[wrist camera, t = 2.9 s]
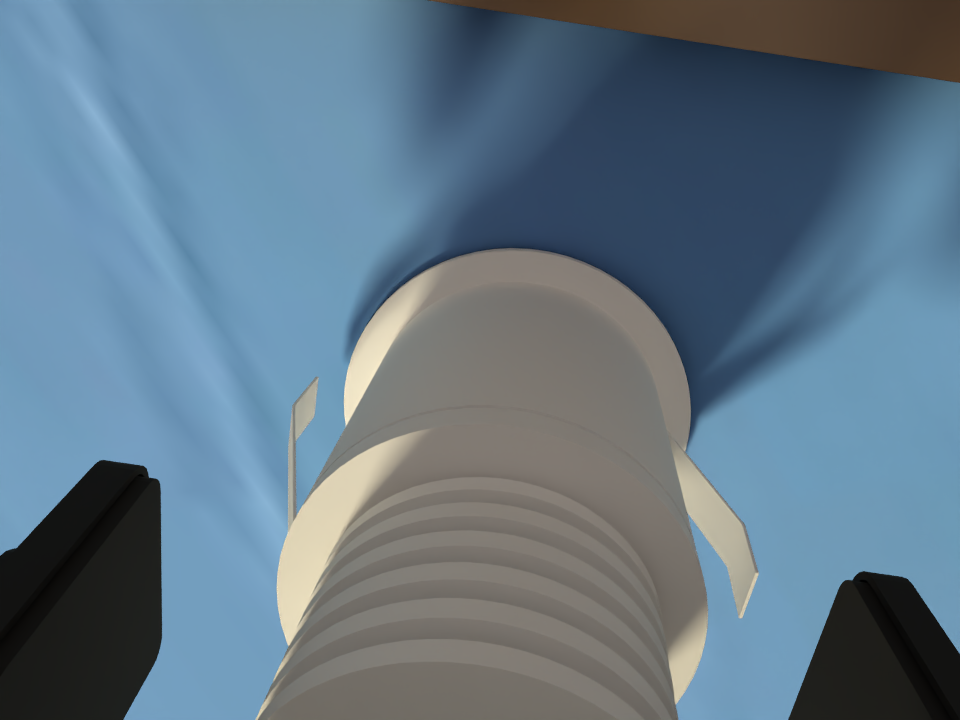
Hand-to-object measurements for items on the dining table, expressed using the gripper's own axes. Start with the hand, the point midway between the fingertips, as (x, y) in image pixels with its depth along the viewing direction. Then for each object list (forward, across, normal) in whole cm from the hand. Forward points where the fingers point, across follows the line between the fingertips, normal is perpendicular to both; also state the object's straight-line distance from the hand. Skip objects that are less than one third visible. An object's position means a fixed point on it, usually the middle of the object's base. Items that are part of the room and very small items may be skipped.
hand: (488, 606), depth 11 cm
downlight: (+6, 0, 0) cm, 6 cm away
